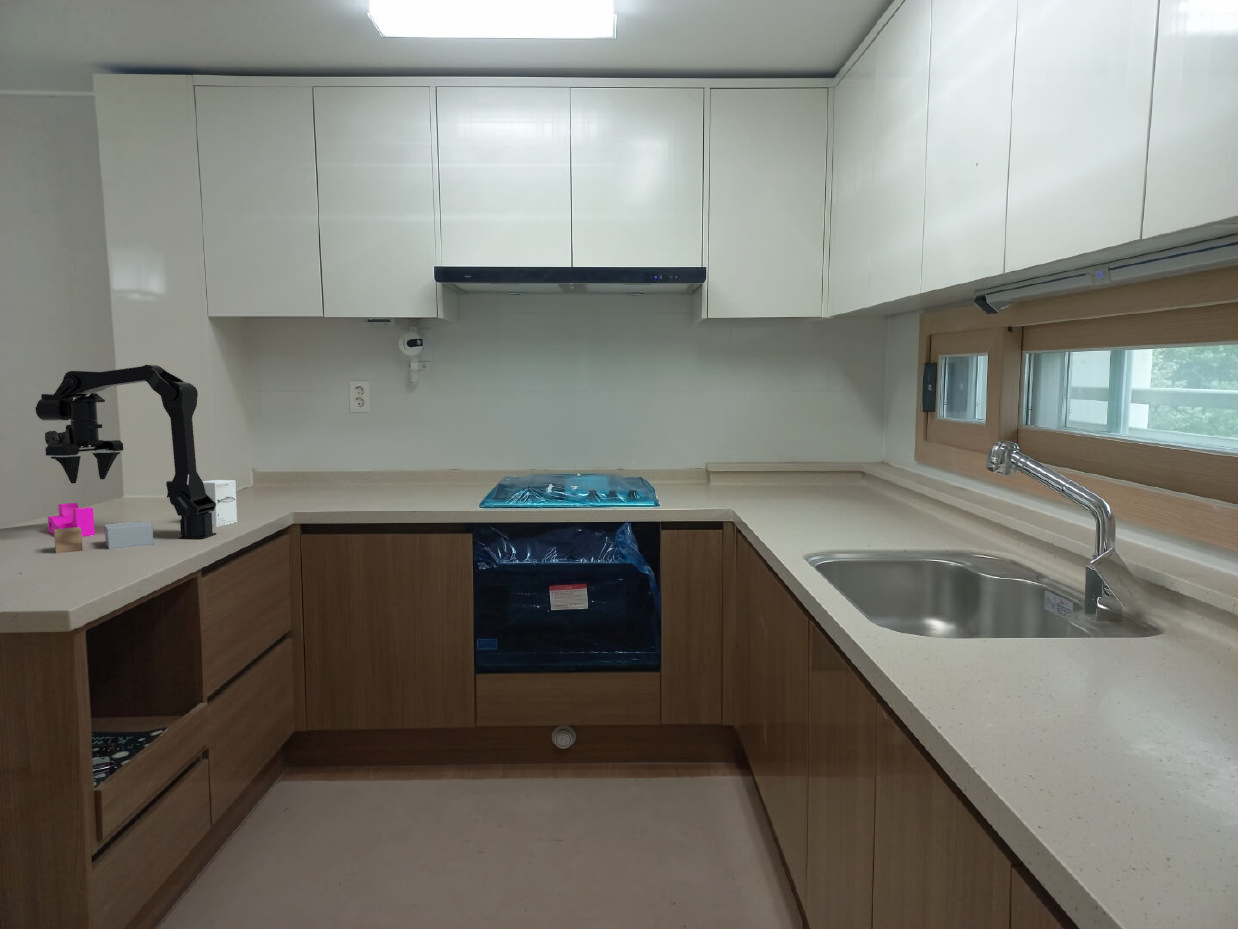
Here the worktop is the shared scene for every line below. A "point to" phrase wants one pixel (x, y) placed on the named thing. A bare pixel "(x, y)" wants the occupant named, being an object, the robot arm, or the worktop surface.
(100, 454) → the robot arm
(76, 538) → the walnut cube
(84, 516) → the toy block
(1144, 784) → the worktop surface
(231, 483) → the supplement box
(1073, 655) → the worktop surface
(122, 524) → the slate base block
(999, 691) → the worktop surface
